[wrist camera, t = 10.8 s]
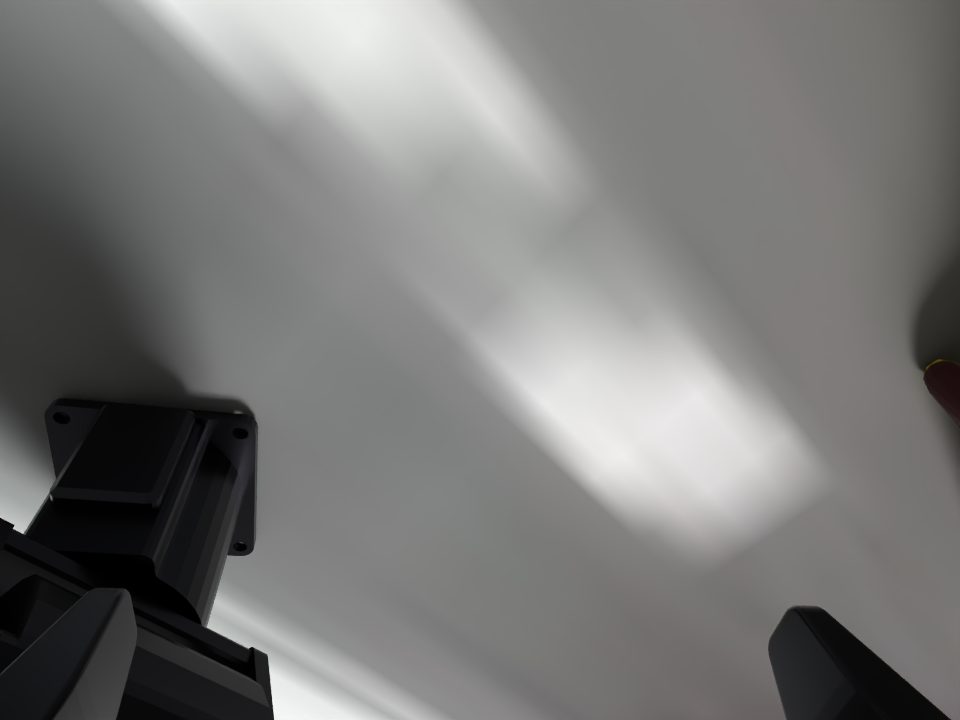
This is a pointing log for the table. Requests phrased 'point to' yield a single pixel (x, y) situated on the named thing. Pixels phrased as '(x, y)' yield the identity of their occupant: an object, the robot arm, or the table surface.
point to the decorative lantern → (945, 385)
